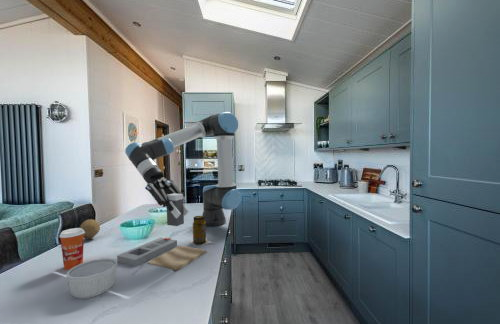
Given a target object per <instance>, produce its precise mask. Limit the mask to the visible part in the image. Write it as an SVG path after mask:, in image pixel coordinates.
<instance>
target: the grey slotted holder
mask: <svg viewBox="0 0 500 324" xmlns="http://www.w3.org/2000/svg"><path fill="white" fill-rule="evenodd" d="M176 247H178V240H176V239H171V238H170V237H167V236H166V237H158V238H156V239H154V240H150V241H149V242H147V243H144V244H142V245H139V246H137V247H134V248H132V249H129V250H127V251H125V252H122V253H120V254H118V255H116V261H117V263H119V264H124V265H128V266H131V267H133V268H134V267H137V266H139V265H142V264H143V263H146V262H148V261H150V260H152V259H154V258H156V257H158V256H160V255H162V254H164V253H166V252H168V251H170V250H172V249H174V248H176Z"/></svg>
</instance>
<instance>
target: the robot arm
mask: <svg viewBox="0 0 500 324" xmlns="http://www.w3.org/2000/svg"><path fill="white" fill-rule="evenodd" d="M238 128H239V120H238V118H237V117H236V115H234V113H232V112H231V111H223V112H220V113H217V114H211V115H209V116H207V117H205V118H203V119H200V120H199V121H196V122H195V123H194V124H193V125H190V126H187V127H184V128H182V129H179V130H176V131H174V132H171V133H167V134H166V135H163V136H161V137H157V138H155V139H151V140H150V141H145V142H142V143H140V142H136V141H135V142H134V141H133V142H132V143H131V142H130V144H128V145H127V146H126V147H125V151H124V152H125V155H126V157H127V158H128V160H129V161H130V162H131V164H133V166H134V167H135V169H136V170H137V171H138V173H139V174H140V176H141V177H142V179H143V180H144V181H145V182H146V186H144V189H145V190H146V191H148V192H149V193H150V195H151V196H152V198H154V200H155V201H156V203H157V204H158V205H159V206H162V207H163V208H166V209H167V208H168V210H169V211H171V213H172V214H173V215H174V217H175V218H178V217H179V216H180V214H181V213H180V212H179V210H178V209H177V208H176V206H175V205H174V204H173V202H172V201H170V202H169V199H168V197H167V195H168V194H173V193H177V194H182V192H181V191H180V189H179V188H178V186H176V184H175V182H174V180H173V179H171V180H168V178H166V177H165V175H164V172H163V171H162V169H161V168H160V167H159V165H158V164H157V163H156V161H155V160H157V159H160V158H162V157H165V156H168V155H169V154H173V152H174V151H175V148H176V147H178V146H181V145H183V144H186V143H189V142H191V141H193V140H196V139H198V138H205V137H209V136H213V138H214V139H215V140H216V152H217V153H216V154H217V155H216V156H217V157H216V158H217V159H216V160H217V180H218V181H217V184H212V185H204V186H203V188H202V205H203V206H202V207H203V208H202V209H203V211H202V214H201V216H204V217H205V222H206V227H216V226H217V227H218V226H221V225H224V224H226V222H227V220H226V219H227V217H226V215H225V213H224V210H226V211H227V210H235V209H237V208H238V206H239V205H240V203H241V200H242V195H241V192H240V191H239V190H238V189H237V183H235V182H234V157H233V155H234V154H233V139H234V138H235V132H237V130H238ZM166 193H167V194H166ZM183 211H184V217H185V216H187V214H188V213H189V212H190V210H189V209H188V208H187V206H186V204H185V203H184V202H183Z"/></svg>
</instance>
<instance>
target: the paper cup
mask: <svg viewBox="0 0 500 324" xmlns="http://www.w3.org/2000/svg"><path fill="white" fill-rule="evenodd" d="M84 233H85V231H84V230H83V229H82V228H80V227H75V228H68V229H65V230H62V231H61V232H60V235H59V239H60V248H61V255H62V263H63V269H64V270H65V271H69V270H70V269H72V268H73V267H75V266H77V265H79V264H82V263H84V241H85V240H84V239H85V238H84Z"/></svg>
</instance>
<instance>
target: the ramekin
mask: <svg viewBox="0 0 500 324" xmlns="http://www.w3.org/2000/svg"><path fill="white" fill-rule="evenodd" d="M117 268H118V262H117V259H114V258H108V257H107V258H106V257H104V258H97V259H92V260H88V261H85V262H84V261H83V263H82V264H79V265H77V266H75V267H73V268H72V269H70V270H67V272H66V280H67V282H68V286H69V291H70V294H71V295H72V296H73V297H74V298H76V299H90V298H93V297H98V296H99V295H102V294H104V293H106V292H108V291H109V289H111V288H112V287H113V286H114V285H115V283H116V279H117V278H116V277H117Z"/></svg>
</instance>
